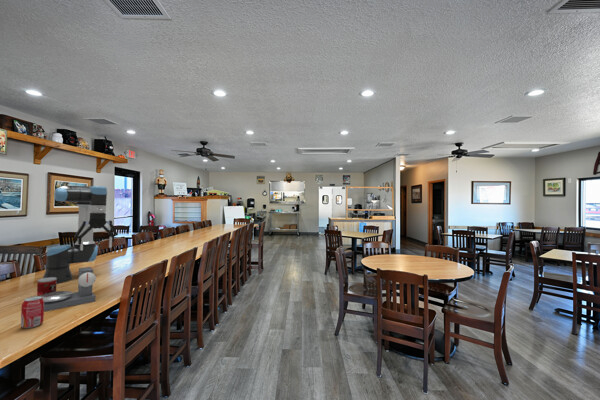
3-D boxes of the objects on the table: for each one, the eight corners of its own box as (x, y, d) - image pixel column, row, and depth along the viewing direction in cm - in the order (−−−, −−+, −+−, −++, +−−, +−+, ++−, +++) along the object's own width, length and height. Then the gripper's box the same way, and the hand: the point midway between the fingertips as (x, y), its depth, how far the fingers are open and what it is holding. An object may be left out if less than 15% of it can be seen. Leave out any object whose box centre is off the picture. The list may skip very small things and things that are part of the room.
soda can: (31, 322, 119) (32, 295, 119) (47, 321, 120) (49, 295, 120) (15, 329, 112) (16, 301, 112) (33, 329, 113) (34, 301, 113)
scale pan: (34, 298, 137) (34, 295, 137) (70, 292, 148) (70, 289, 148) (36, 306, 128) (36, 302, 128) (74, 299, 138) (74, 295, 138)
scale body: (31, 305, 137) (33, 272, 137) (90, 294, 155) (92, 265, 155) (33, 313, 127) (34, 278, 127) (95, 301, 145) (97, 270, 145)
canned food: (44, 302, 141) (45, 281, 141) (32, 300, 143) (33, 280, 143) (59, 297, 149) (60, 277, 149) (48, 296, 150) (49, 276, 150)
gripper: (71, 212, 143) (69, 252, 143) (124, 212, 162) (123, 247, 161) (68, 212, 148) (67, 250, 148) (120, 212, 167) (119, 245, 166)
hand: (96, 248), depth 154 cm, fingers open, 13 cm apart
